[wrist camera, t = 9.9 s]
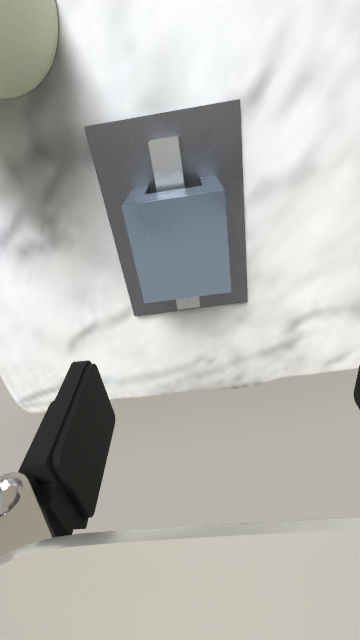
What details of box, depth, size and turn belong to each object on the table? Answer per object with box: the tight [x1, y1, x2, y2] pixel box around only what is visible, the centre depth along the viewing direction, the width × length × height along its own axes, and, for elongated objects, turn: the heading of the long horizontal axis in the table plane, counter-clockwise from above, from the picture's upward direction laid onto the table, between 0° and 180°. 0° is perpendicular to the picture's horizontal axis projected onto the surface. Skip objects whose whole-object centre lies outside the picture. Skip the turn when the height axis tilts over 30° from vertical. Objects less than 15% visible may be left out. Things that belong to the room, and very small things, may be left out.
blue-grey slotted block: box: [122, 175, 231, 303], centre depth 24 cm, size 6×7×6 cm
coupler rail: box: [85, 99, 248, 316], centre depth 26 cm, size 11×16×3 cm
